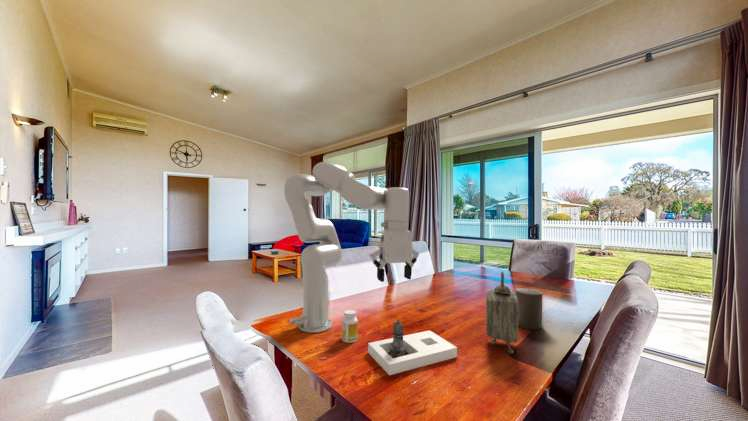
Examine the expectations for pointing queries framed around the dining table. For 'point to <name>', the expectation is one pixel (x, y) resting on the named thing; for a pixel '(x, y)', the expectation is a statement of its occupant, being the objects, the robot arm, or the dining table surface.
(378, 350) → the socket board
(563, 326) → the dining table surface
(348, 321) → the supplement bottle
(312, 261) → the robot arm
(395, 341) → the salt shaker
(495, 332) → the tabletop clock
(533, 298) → the pillar candle
